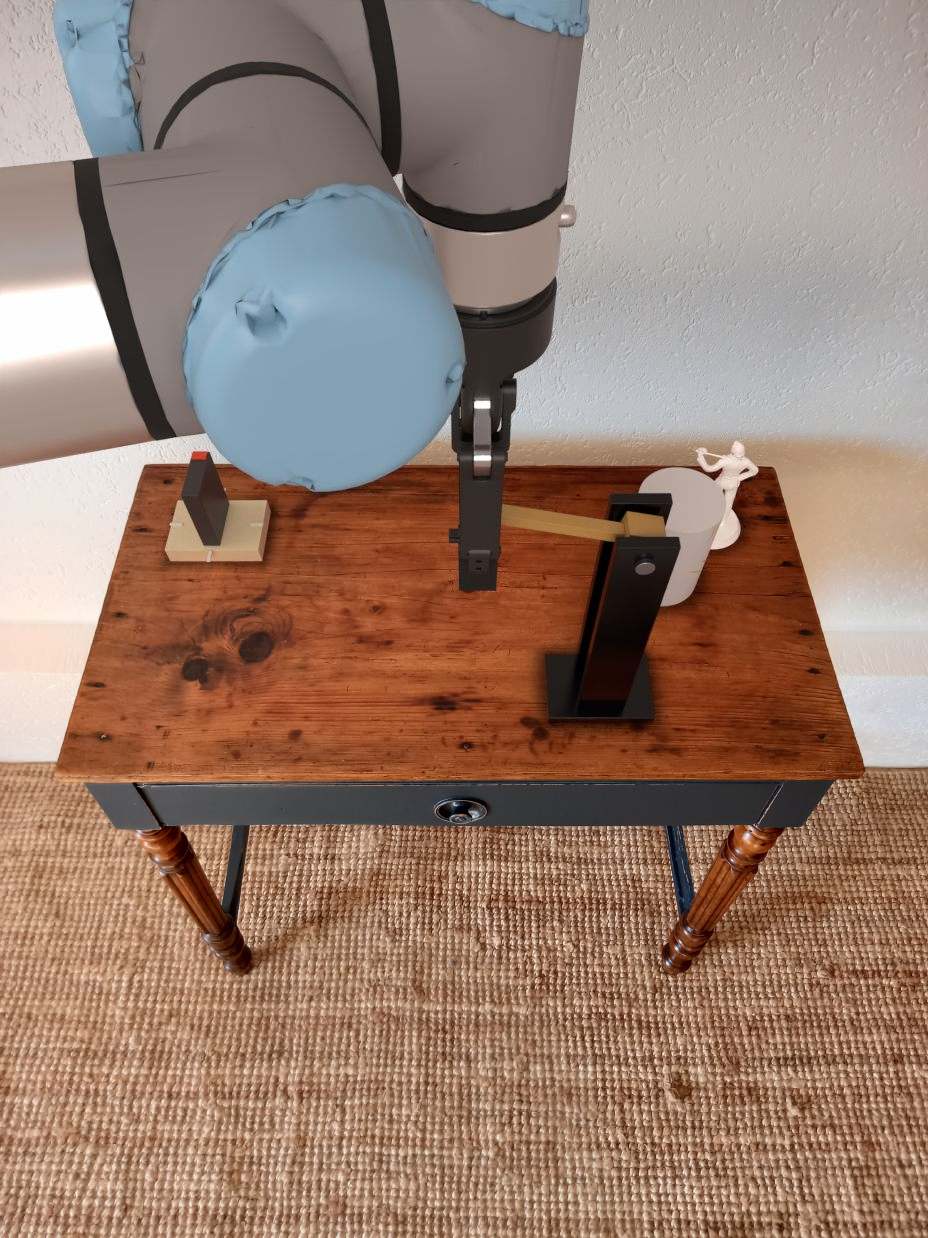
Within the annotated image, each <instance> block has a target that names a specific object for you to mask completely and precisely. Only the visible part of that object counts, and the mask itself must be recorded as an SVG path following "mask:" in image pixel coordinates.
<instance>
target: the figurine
mask: <svg viewBox="0 0 928 1238" xmlns="http://www.w3.org/2000/svg"><path fill="white" fill-rule="evenodd" d="M745 449H746V447H745V446H744V443H742V442H741V441H739V440H735V441H734V442H733V444H732V445H731V449H730V453H729V454H722V455H719V454H716V453H715V454H714V453H710V452H708V448H706V447H703V446H702V447H698V448H697V449H695V450H694V452H695V453H696V454H697V458H696V461H697V463H698V464H699V465H700V468H702V470H703V471H704V472H706V473H713V472H714V473H715V472H717V471H719V470H720V469H722V471H721V473H720V474H719V476H717V477H716V478H715V480H714V481H715V482H716V483H717V484H718V485H719V487H720V488H721V489H722V491H723V492H724V495H725V499H726V511H725V514H724V516H723V519H722V521H721V524H720V526H719V529H718V531H717V533H716V536H715V538H714V541H713V543H712V546H711V548H710V550H719V549H724V548H727V547H729V546H731V545H733V544H734V543H735V542H736V541H737V540H738V538H739V537H740V534H741V523H740V520H739V518H738V516H737V514H736V513H735V512H734V510H733V509H732V508H733V504H734V501H735V498H736V495H737V492H738V488H739V486H740V484H741V481H744V480H746V479H749V478H751V477H754V476H757V474H758V472H759V467H758V466H757V465H756V464H755V463H754V462H753V461H752V460H750V458H748V457H746V455H745V454H746V451H745ZM704 455H705V456H707V455H709V456H712V457H715V458H720V459H718V460H717V462H716V463H714V464H712V465H710V464H708V462H707V461H706V457H704ZM745 469H747V471H745V472H743V471H744V470H745Z"/></svg>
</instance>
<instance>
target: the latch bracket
mask: <svg viewBox="0 0 928 1238" xmlns="http://www.w3.org/2000/svg"><path fill="white" fill-rule="evenodd" d="M672 505H673V500H672V495H671V493H639V492H611V493H610V494H609V497H608V502H607V507H606V511H605V515H604V520H608V521H614V522H621V520H622V519H623V517H624V515H625V514H626V512H627V511H631V512H637V513H643V514H649V515H656V516H662V517H663V519H664V525H665V527H666V524H667V520H668V517H669V514H670V511H671V508H672ZM680 549H681V545H680V539H679V537H616V538H615V542H611V541H604V540H599V544H598V548H597V554H596V557H595V562H594V567H593V572H592V576H591V581H590V586H589V590H588V594H587V595H588V596H587V600H586V606H585V608H584V609H585V610H584V613H583V618H582V623H581V627H580V632H579V637H578V642H577V647H576V651H575V653H544V657H543V668H544V669H543V670H544V686H545V706H546V718H547V719H546V721H547V724H653V723H654V722H655V719H656V715H655V707H654V700H653V693H652V686H651V685H652V684H651V678H650V672H649V665H648V664H649V663H648V656H647V654H646V653H645V651H646V648H647V645H648V643H649V640H650V637H651V634H652V631H653V628H654V626H655V622H656V619H657V617H658V614H659V611H660V608H661V607H662V606H661V603H662V600H663V597H664V594H665V592H666V589H667V586H668V583H669V580H670V577H671V575H672V572H673V569H674V566H675V563H676V560H677V558H678V555H679V552H680Z"/></svg>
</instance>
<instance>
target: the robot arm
mask: <svg viewBox="0 0 928 1238" xmlns="http://www.w3.org/2000/svg"><path fill="white" fill-rule="evenodd" d="M589 7H590V0H54V4H53V9H52V23H53V24H52V25H53V30H54V36H55V40H56V44H57V47H58V50H59V53H60V57H61V61H62V67H63V71H64V75H65V79H66V82H67V86H68V89H69V92H70V96H71V98H72V101H73V105H74V108H75V111H76V114H77V117H78V120H79V123H80V126H81V129H82V132H83V134H84V137H85V140H86V143H87V146H88V149H89V151H90V154H91V156H92V157H88V158H82V159H81V158H80V159H75V160H72V159H69V160H58V161H49V162H48V161H47V162H40V163H30V164H20V165H19V164H18V165H10V166H1V167H0V470H1V469H7V468H12V467H17V466H24V465H29V464H34V463H39V462H43V461H44V462H45V461H50V460H56V459H62V458H66V457H73V456H80V455H84V454H89V453H95V452H99V451H106V450H111V449H116V448H117V449H118V448H123V447H128V446H134V445H140V444H144V443H151V442H158V441H164V440H169V439H170V440H171V439H175V438H182V437H191V436H198V435H205V434H206V436H207V437H208V439H209V441H210V442H211V444H212V445H213V446H214V447H215V449H216V450H217V451H218V453H219V454H220V455H221V456H222V457H223V458H224V459H225V460H226V461H228V463H230V464H231V465H232V466H234V467H235V468H237V469H238V470H239V471H242V472H243V473H245V474H247V475H248V476H250V477H251V478H253V479H254V480H256V481H259V482H262V483H265V484H268V485H271V486H273V487H280V486H282V485H289V486H296V487H297V486H298V487H304V488H306V489H307V490H309V491H311V492H313V493H327V492H328V493H330V492H338V491H344V490H345V491H346V490H348V489H349V490H350V489H353V488H356V487H361V486H364V485H367V484H369V483H373V482H375V481H377V480H379V479H380V478H384V477H385V476H387V475H390V473H392V472H395V471H396V470H398V469H400V468H402V467H403V466H404V465H406V464H407V463H409V462H411V461H412V460H413V459H415V457H416V456H418V455H419V454H420V453H421V452H422V451H423V450H424V449H425V448H426V447H428V445H429V444H430V443H432V441H433V440H434V439H435V438H436V437H437V435H438V434H439V433H440V431H441V430H442V428H443V427H444V426H445V425H446V422H447V421H448V419H449V417H450V434H451V435H450V437H451V443H450V444H451V445H450V446H451V447H450V448H451V451H453V452H454V453H455V454H456V462H458V521H459V522H458V525H457V527H456V528H452V527H450V528H448V544H457V554H458V557H457V558H458V559H457V560H458V591H459V592H464V591H465V592H466V591H467V592H468V591H470V592H471V591H473V592H474V591H475V592H476V591H477V592H478V591H479V592H483V591H484V592H485V591H487V592H490V591H491V592H494V591H495V592H496V591H497V585H498V584H497V582H498V569H499V568H498V567H499V560H500V558H501V555H502V545H501V534H502V533H501V532H502V531H501V530H502V525H501V515H502V504H503V497H504V495H503V494H504V479H505V472H506V471H505V470H506V464H507V462H509V450H510V447H511V432H512V414H513V413H514V412H515V411H516V408H517V395H518V379H517V378H516V377H515V374H517V373H519V372H521V371H524V370H525V369H527V368H529V367H530V366H532V365H533V364H534V363H535V362H537V361H538V360H539V359H540V358H542V356H543V355H544V354H545V352H546V351H547V349H548V347H549V345H550V343H551V341H552V336H553V328H554V327H553V326H554V317H555V308H556V301H557V290H558V281H557V276H556V274H557V272H558V269H559V264H560V263H559V261H560V252H561V244H562V243H561V242H562V234H561V229H560V228H563V229H565V228H566V229H568V228H571V227H574V225H575V224H576V222H577V217H578V213H577V211H576V206H575V205H574V204H565V203H566V193H567V189H568V179H569V166H570V159H571V149H572V142H573V141H572V140H573V134H574V133H573V132H574V124H575V123H574V122H575V116H576V107H577V100H578V99H577V97H578V92H579V89H578V88H579V82H580V74H581V68H582V59H583V51H584V44H585V36H586V34H587V33H588V32H589V29H590V22H591V19H590V14H589V9H590V8H589ZM397 175H401V180H402V183H401V188H400V189H401V190H400V189H399V186H398V184H397V182H396V180H395V179H394V178H395V177H396V176H397ZM499 428H500V429H499Z"/></svg>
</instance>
